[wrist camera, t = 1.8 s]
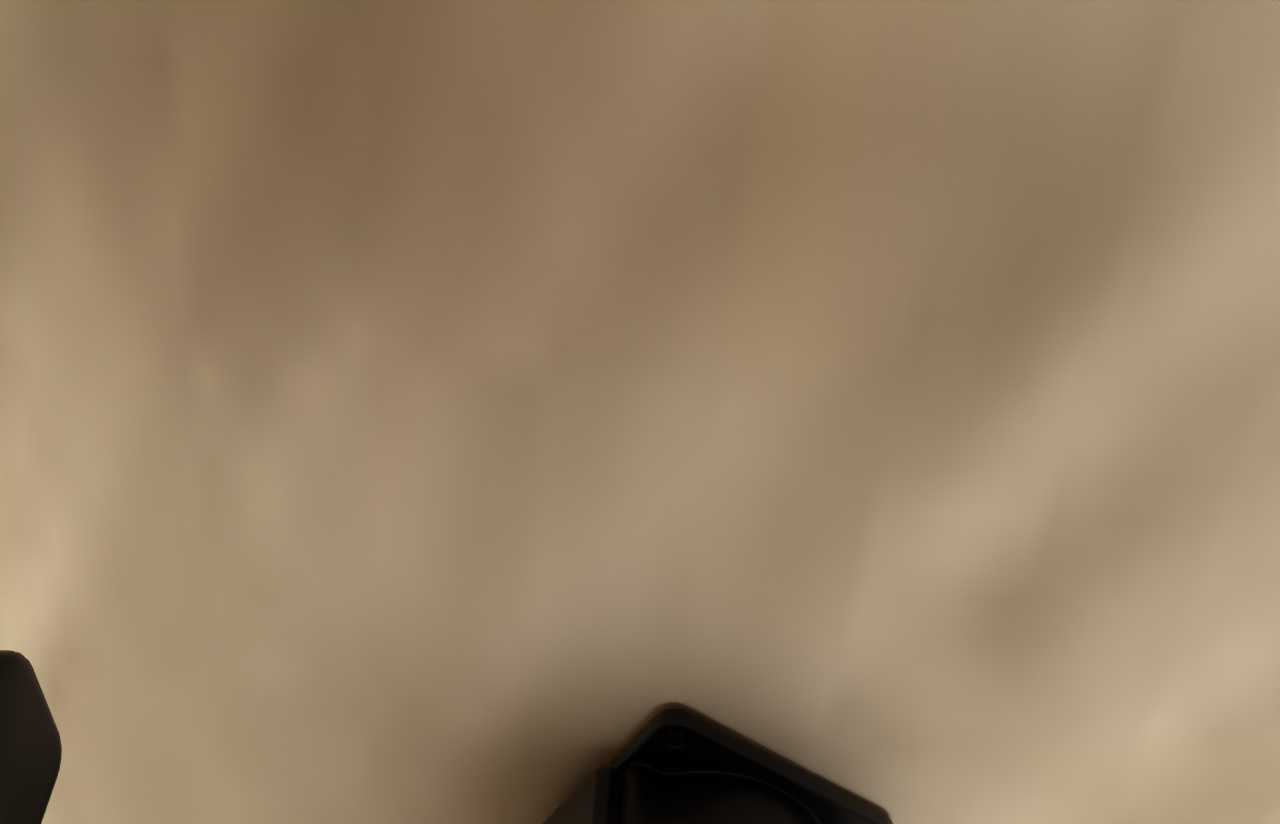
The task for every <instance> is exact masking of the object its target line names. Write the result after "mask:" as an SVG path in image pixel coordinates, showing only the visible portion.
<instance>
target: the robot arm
mask: <svg viewBox="0 0 1280 824" xmlns="http://www.w3.org/2000/svg"><path fill="white" fill-rule="evenodd" d="M670 731H679V732H682V733H677V734H674V733H670ZM61 750H62V748H61V740H60V735H59V732H58V729H57V727H56V724H55V722H54V719H53V717H52V714H51V712H50V709H49V707H48V704H47V702H46V699H45V697H44V694H43V692H42V689H41V687H40V684H39V682H38V679H37V677H36V674H35V672H34V669H33V667H32V665H31V663H30V662H29V660H28V659H26V658H25V657H24V656H23V655H22V654H21V653H18V652H14V651H8V650H0V824H41V822H42V820H43V817H44V814H45V811H46V808H47V805H48V802H49V799H50V796H51V794H52V791H53V788H54V785H55V782H56V779H57V776H58V772H59V769H60V763H61ZM543 824H893V823H892V820H891V819H889V818H888V817H887V816H885V815H884V814H882V813H880V812H878V811H876V810H874V809H872V808H870V807H868V806H866V805H865V804H863V803H861V802H859V801H857V800H855V799H853V798H851V797H849V796H847V795H846V794H844V793H842V792H840V791H838V790H836V789H834V788H832V787H830V786H828V785H827V784H825V783H823V782H821V781H819V780H817V779H815V778H813V777H811V776H809V775H808V774H806V773H804V772H802V771H800V770H798V769H796V768H794V767H792V766H790V765H789V764H787V763H785V762H783V761H781V760H779V759H777V758H775V757H773V756H771V755H769V754H768V753H766V752H764V751H762V750H760V749H758V748H756V747H754V746H752V745H750V744H749V743H747V742H745V741H743V740H741V739H739V738H737V737H735V736H733V735H731V734H730V733H728V732H726V731H724V730H722V729H720V728H718V727H716V726H714V725H712V724H711V723H709V722H707V721H705V720H703V719H701V718H699V717H697V716H695V715H693V714H692V713H690V712H687V711H684V710H681V709H669V710H666V711H663V712H661V713H660V714H658V715H657V716H656V717H655V718H654V719H653V720H652V721H651V722H650V723H649V724H648V725H647V726H646V727H645V728H644V729H643V730H642V731H641V732H640V733H639V734H638V735H637V736H636V737H635V738H634V739H633V740H632V741H631V742H630V743H629V744H628V745H627V746H626V747H625V748H624V749H623V750H622V751H621V752H620V753H619V754H618V756H617V757H616V758H615V759H614V760H613V761H612V762H611V763H610V764H609V765H605V766H603V767H601V768H599V769H596V770H595V771H594V772H593V773H592V774H591V775H590V776H589V777H588V778H587V779H586V780H585V781H584V782H583V783H582V784H581V785H580V786H579V787H578V788H577V789H576V790H575V791H574V793H573V794H572V795H571V796H570V797H569V798H568V799H567V800H566V801H565V802H564V803H563V804H562V805H561V806H560V807H559V808H558V809H557V810H556V811H555V812H554V813H553V814H552V815H551V816H550V817H549V818H548V819H547V820H546V821H545V822H544V823H543Z"/></svg>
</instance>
